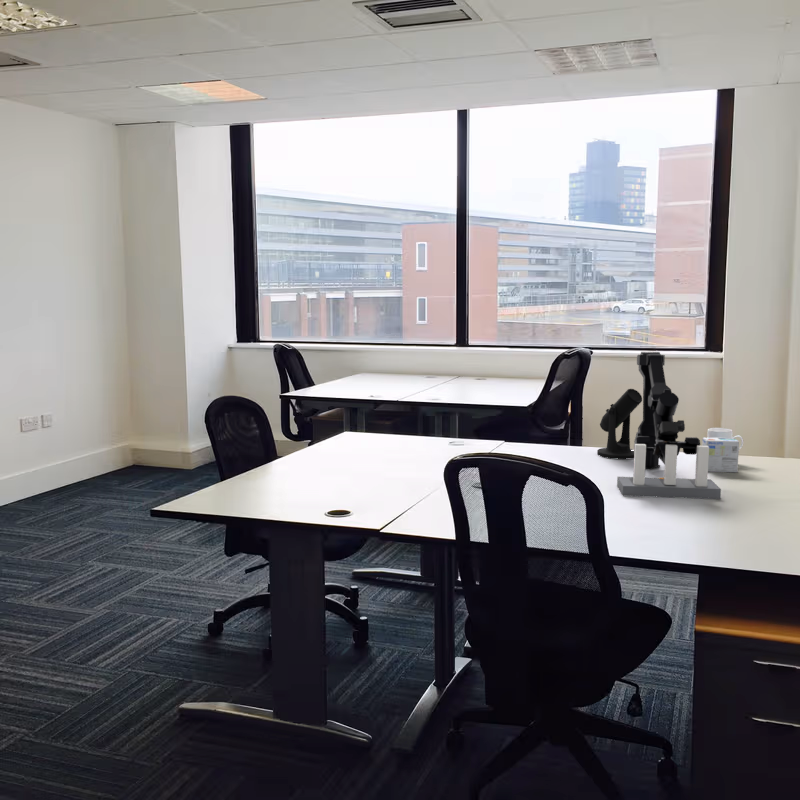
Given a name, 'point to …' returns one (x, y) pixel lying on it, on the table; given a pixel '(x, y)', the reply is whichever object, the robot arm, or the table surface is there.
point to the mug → (722, 434)
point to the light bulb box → (722, 454)
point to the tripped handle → (670, 465)
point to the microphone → (613, 420)
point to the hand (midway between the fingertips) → (669, 468)
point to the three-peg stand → (656, 486)
